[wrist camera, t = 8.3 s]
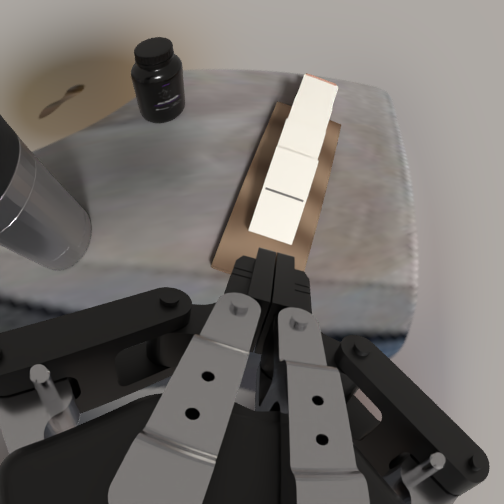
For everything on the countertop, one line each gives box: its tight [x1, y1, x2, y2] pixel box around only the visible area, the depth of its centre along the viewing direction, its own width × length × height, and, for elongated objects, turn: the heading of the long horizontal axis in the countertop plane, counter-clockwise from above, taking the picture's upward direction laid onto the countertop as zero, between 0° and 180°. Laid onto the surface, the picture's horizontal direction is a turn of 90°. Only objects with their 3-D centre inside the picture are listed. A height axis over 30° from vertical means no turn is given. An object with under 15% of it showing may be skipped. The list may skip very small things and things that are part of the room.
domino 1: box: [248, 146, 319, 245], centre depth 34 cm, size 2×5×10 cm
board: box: [211, 101, 341, 274], centre depth 37 cm, size 26×10×1 cm, turn 162°
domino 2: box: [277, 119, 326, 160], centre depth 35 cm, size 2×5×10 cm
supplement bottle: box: [131, 37, 185, 123], centre depth 34 cm, size 7×7×12 cm
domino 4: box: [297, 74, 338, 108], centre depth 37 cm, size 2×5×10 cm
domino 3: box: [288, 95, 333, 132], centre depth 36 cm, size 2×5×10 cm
